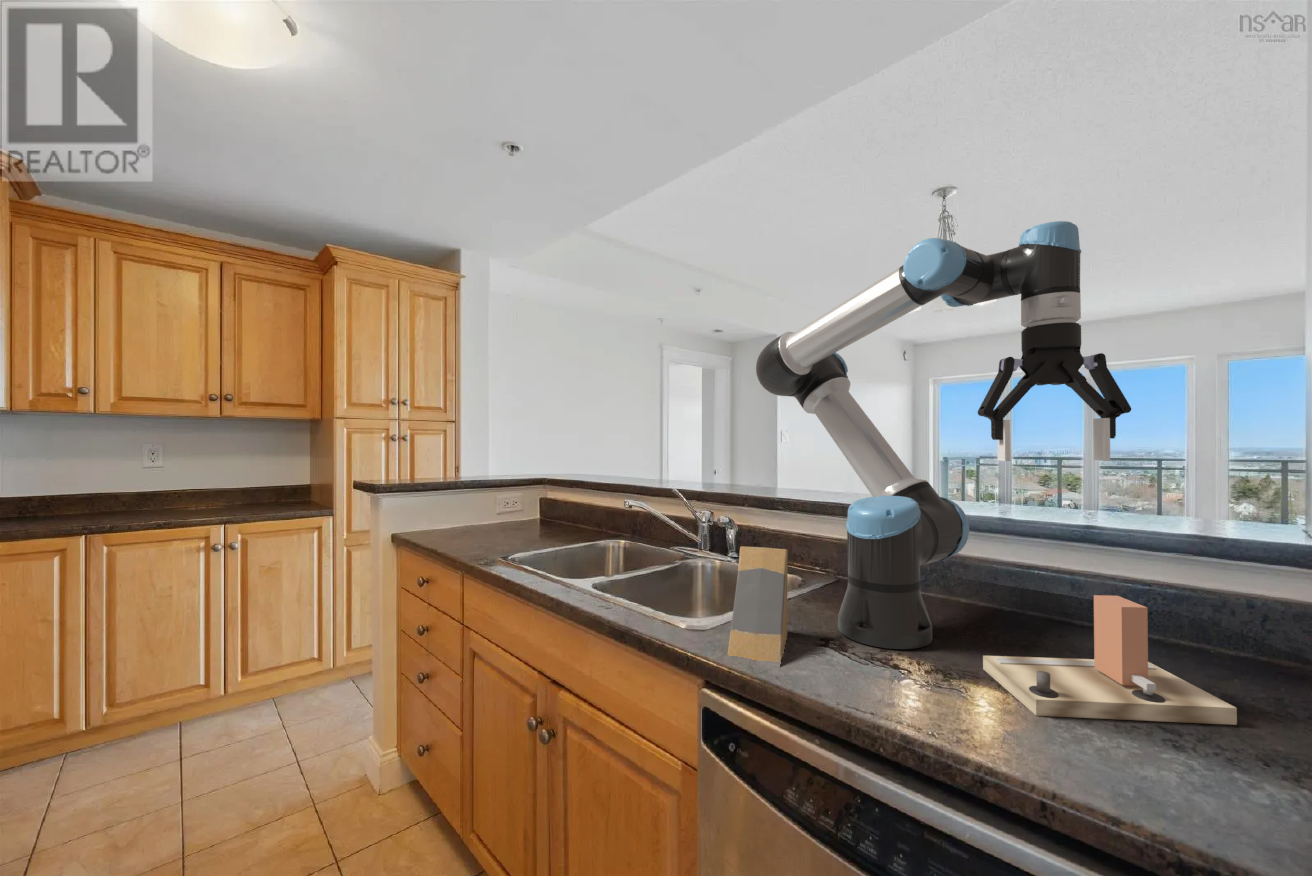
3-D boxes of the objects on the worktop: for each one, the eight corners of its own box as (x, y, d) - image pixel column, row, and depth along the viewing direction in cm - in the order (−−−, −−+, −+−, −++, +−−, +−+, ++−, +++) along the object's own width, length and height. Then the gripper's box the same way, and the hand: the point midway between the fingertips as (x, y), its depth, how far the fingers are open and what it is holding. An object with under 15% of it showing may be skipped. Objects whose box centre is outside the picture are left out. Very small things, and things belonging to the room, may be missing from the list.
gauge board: (1036, 715, 65) (1035, 679, 65) (983, 669, 78) (982, 639, 78) (1236, 724, 62) (1236, 687, 62) (1147, 675, 75) (1147, 644, 75)
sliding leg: (1137, 694, 65) (1137, 613, 65) (1094, 668, 72) (1093, 595, 72) (1164, 695, 64) (1164, 614, 64) (1118, 668, 72) (1117, 595, 72)
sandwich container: (724, 662, 81) (723, 565, 81) (740, 627, 96) (739, 545, 96) (781, 669, 79) (780, 569, 79) (788, 632, 93) (787, 548, 93)
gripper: (972, 324, 81) (974, 462, 81) (1161, 315, 76) (1163, 461, 76) (954, 334, 89) (956, 459, 89) (1126, 326, 84) (1127, 459, 84)
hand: (1052, 460), depth 83 cm, fingers open, 13 cm apart
